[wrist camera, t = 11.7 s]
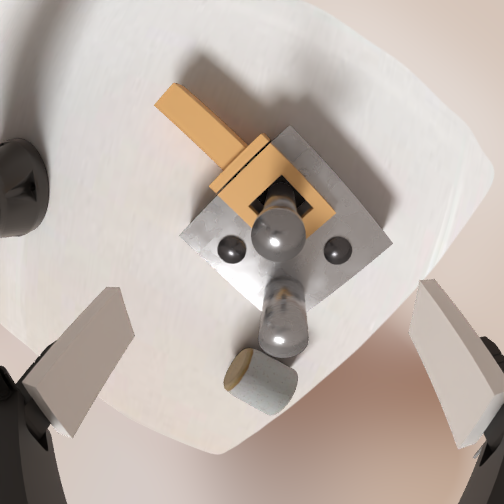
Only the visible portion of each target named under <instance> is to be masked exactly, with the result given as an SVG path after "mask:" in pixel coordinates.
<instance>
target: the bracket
mask: <svg viewBox="0 0 504 504" xmlns="http://www.w3.org/2000/svg"><path fill="white" fill-rule="evenodd" d="M154 106H155V107H156V108H157V109H159V110H160V111H161V112H162V113H163V114H164V115H165V116H166V117H167V118H168V119H169V120H171V121H172V122H173V123H174V124H175V125H176V126H177V127H178V128H179V129H180V130H181V131H182V132H183V133H185V134H186V135H187V136H188V137H189V138H190V139H191V140H192V141H193V142H194V143H195V144H196V145H197V146H198V147H199V148H201V149H202V150H203V151H204V152H205V153H206V154H207V155H208V156H209V157H210V158H211V159H212V160H213V161H214V162H215V163H216V164H217V165H218V166H219V167H220V168H221V169H222V170H223V172H222V173H221V174H220V175H219V176H218V177H217V178H216V179H215V180H214V181H213V182H212V183H211V184H210V185H209V187H210V188H211V189H212V190H213V191H214V192H215V193H217V192H218V191H219V190H220V189H221V188H222V187H223V186H224V185H225V184H226V183H227V182H228V181H229V180H230V179H231V178H232V177H233V176H234V175H235V174H236V173H237V172H238V171H239V170H240V169H241V168H242V167H243V166H245V165H246V164H247V163H248V162H249V161H250V160H251V159H252V158H253V157H254V156H255V155H256V154H257V153H258V152H259V151H260V150H261V149H262V148H263V147H264V146H265V145H266V144H267V143H268V142H269V141H270V140H271V139H270V138H269V137H268V136H267V135H266V134H265V133H263V134H260V135H259V136H258V137H257V138H256V139H255V140H254V141H253V142H252V143H251V144H250V145H249V146H248V145H247V144H246V143H245V142H244V141H243V140H242V139H241V138H240V137H239V136H238V135H237V134H236V133H235V132H233V131H232V130H231V129H230V128H229V127H228V126H227V125H226V124H225V123H224V122H223V121H222V120H221V119H220V118H219V117H217V116H216V115H215V114H214V113H213V112H212V111H211V110H210V109H209V108H208V107H207V106H205V105H204V104H203V103H202V102H201V101H200V100H199V99H198V98H196V97H195V96H194V95H193V94H192V93H191V92H190V91H189V90H187V89H186V88H185V87H184V86H182V85H179V84H177V83H173V84H172V85H171V86H170V87H169V88H168V90H167V91H166V92H165V93H164V94H163V95H162V96H161V98H160V99H159V100H158V101H157V102H156V103H155V105H154ZM281 175H283V176H284V177H285V178H286V180H287V181H288V182H289V183H290V184H291V185H292V186H293V187H294V188H295V189H296V190H297V191H298V192H299V193H300V194H301V195H302V196H303V197H304V198H305V199H306V201H307V202H308V203H309V204H310V205H311V206H312V207H311V208H310V209H309V210H308V211H306V212H305V213H304V214H303V215H302V216H301V218H302V220H303V222H304V226H305V231H306V239H307V238H308V237H309V236H310V235H312V234H313V233H314V232H315V231H316V230H317V229H318V228H320V227H321V226H322V225H323V224H324V223H325V222H327V221H328V220H329V219H330V218H331V217H332V216H333V215H335V214H336V212H335V210H334V209H333V208H332V207H331V206H330V205H329V203H328V202H327V201H326V200H325V199H324V198H323V197H322V196H321V195H320V193H319V192H318V191H317V190H316V189H315V188H314V187H313V186H312V185H311V184H310V183H309V182H308V181H307V179H306V178H305V177H304V176H303V175H302V174H301V173H300V172H299V171H298V170H297V169H296V168H295V167H294V166H293V165H292V164H291V163H290V162H289V161H288V160H287V159H286V158H285V157H284V155H283V154H282V153H281V152H280V151H279V150H278V149H277V148H276V147H275V146H274V145H273V144H272V143H270V144H269V145H268V146H267V147H266V148H265V149H264V150H262V151H261V152H260V153H259V154H258V155H257V156H256V157H255V158H254V159H253V160H252V161H251V162H250V163H249V164H248V165H247V166H246V167H245V168H244V169H243V170H242V171H241V172H240V173H239V174H238V175H237V176H236V177H235V178H234V179H233V180H232V181H231V182H230V183H229V184H228V185H227V186H226V187H225V188H224V189H223V190H222V191H221V192H220V193H219V194H218V196H219V197H220V198H221V199H222V200H223V201H224V202H225V203H226V204H227V205H228V206H229V207H230V208H232V209H233V210H234V211H235V212H236V213H237V214H238V215H239V216H240V217H241V218H242V219H243V220H244V221H245V222H246V223H247V224H248V225H249V226H250V227H251V228H252V227H253V224H254V221H255V219H256V217H257V216H258V215H259V213H258V212H257V211H256V210H255V209H254V208H253V207H252V206H251V205H250V204H251V203H252V202H253V201H254V200H255V199H256V198H257V197H258V196H259V195H260V194H261V193H262V192H263V191H264V190H266V189H267V188H268V187H269V186H270V185H271V184H272V183H273V182H274V181H275V180H276V179H277V178H278V177H279V176H281Z"/></svg>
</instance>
